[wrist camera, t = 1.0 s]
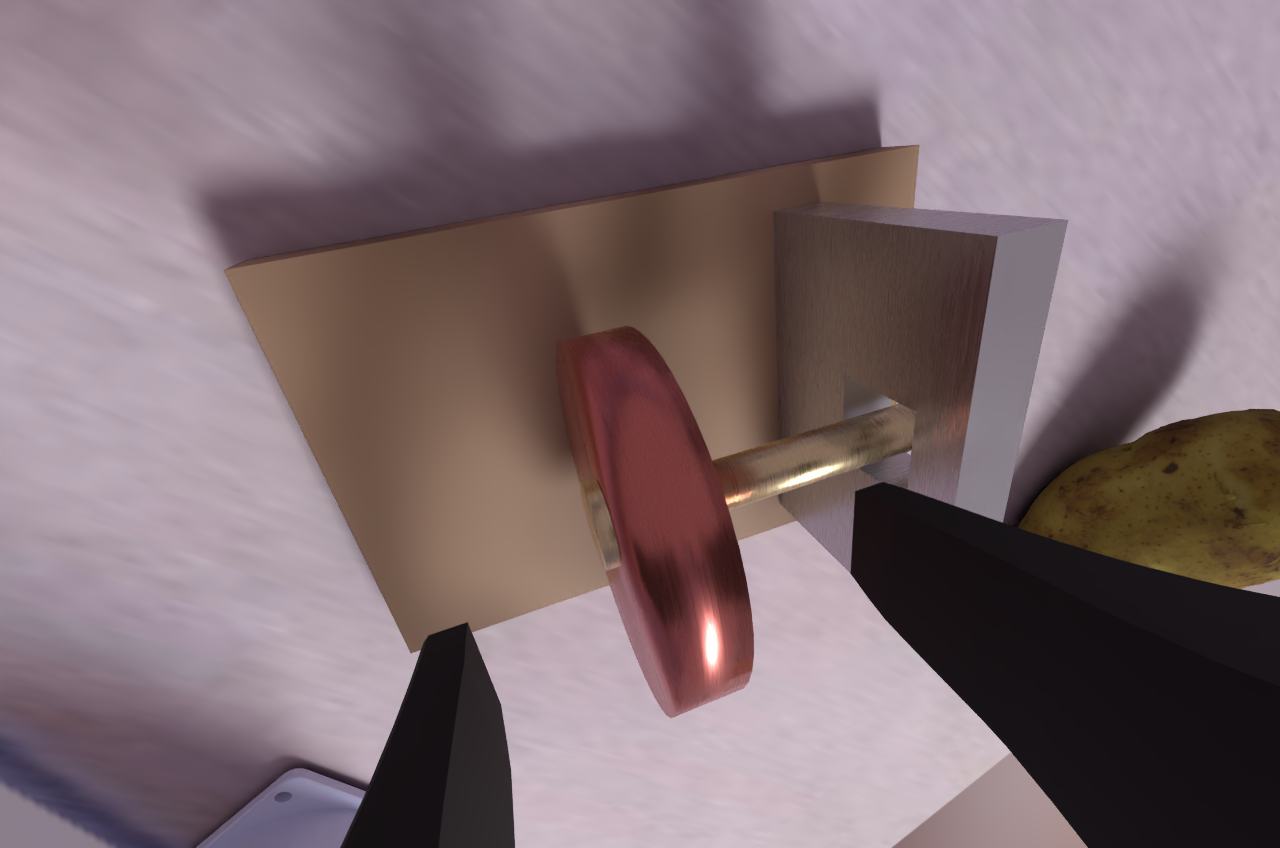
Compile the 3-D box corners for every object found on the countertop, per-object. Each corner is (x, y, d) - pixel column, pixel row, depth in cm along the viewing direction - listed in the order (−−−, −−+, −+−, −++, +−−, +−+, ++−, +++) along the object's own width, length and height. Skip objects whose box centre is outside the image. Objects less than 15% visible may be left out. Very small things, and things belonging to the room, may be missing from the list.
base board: (882, 147, 17) (919, 144, 15) (862, 470, 22) (888, 488, 21) (245, 260, 13) (223, 270, 11) (413, 619, 18) (410, 653, 17)
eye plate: (820, 201, 15) (1067, 220, 9) (816, 492, 20) (979, 631, 14) (773, 211, 15) (998, 236, 9) (780, 504, 19) (930, 652, 13)
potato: (962, 499, 25) (1158, 622, 18) (1179, 349, 26) (1447, 412, 19) (986, 599, 29) (1152, 730, 22) (1172, 468, 30) (1389, 556, 23)
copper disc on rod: (897, 225, 16) (1250, 265, 9) (879, 458, 19) (1118, 615, 12) (525, 306, 13) (612, 449, 6) (585, 554, 17) (681, 814, 10)
